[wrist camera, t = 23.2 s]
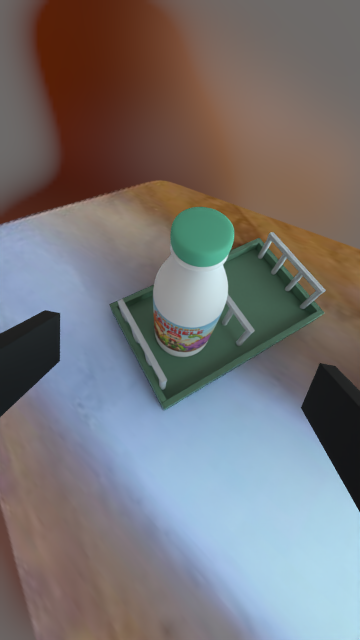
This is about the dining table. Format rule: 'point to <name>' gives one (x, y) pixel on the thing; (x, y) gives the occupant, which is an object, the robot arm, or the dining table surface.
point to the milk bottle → (192, 281)
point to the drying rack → (225, 321)
